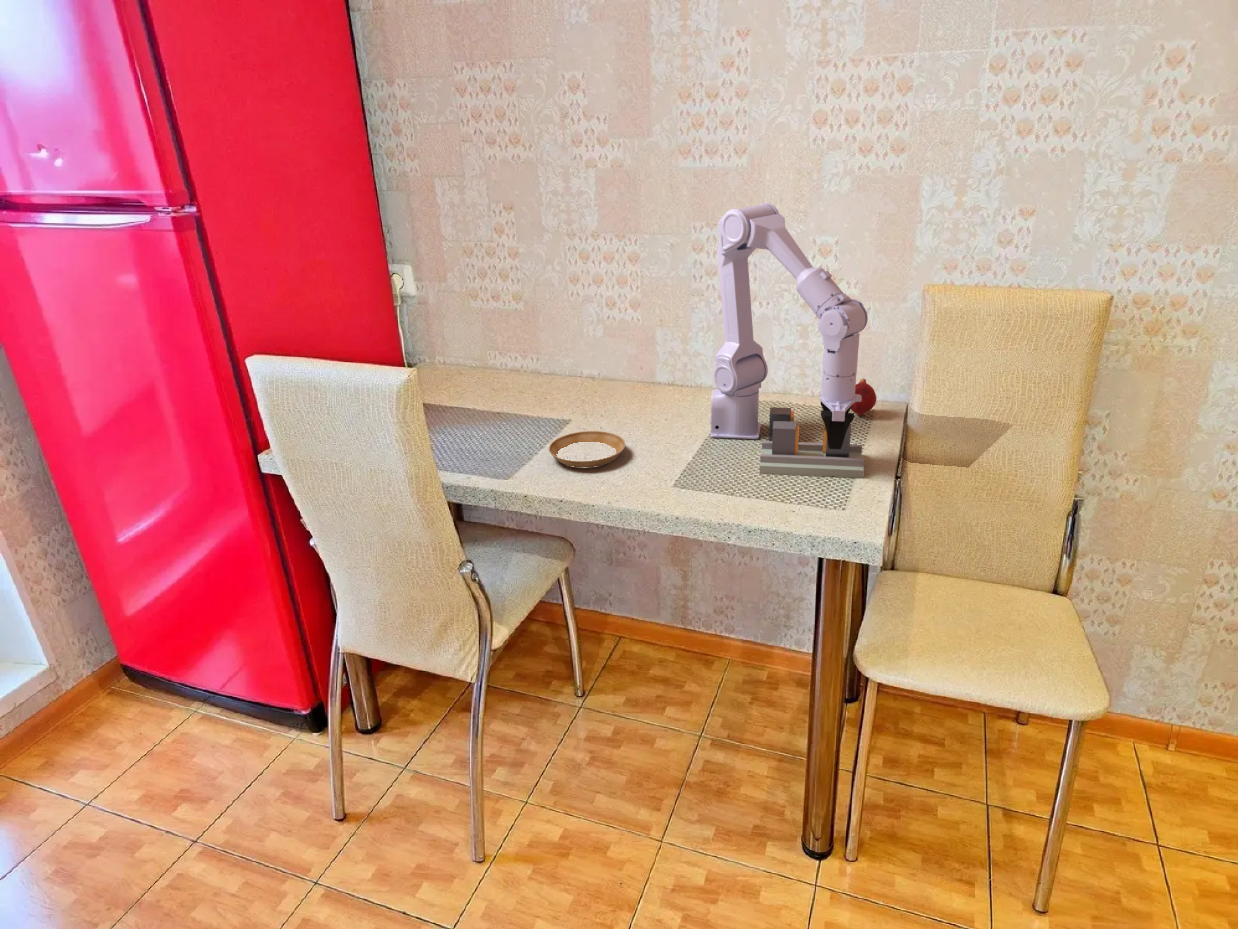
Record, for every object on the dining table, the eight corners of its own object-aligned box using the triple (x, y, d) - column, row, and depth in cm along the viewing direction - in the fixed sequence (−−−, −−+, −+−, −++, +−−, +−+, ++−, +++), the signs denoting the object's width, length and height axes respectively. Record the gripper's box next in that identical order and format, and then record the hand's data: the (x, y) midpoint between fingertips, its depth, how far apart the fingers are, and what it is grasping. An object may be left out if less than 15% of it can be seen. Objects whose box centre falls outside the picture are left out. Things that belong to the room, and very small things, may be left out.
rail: (759, 473, 148) (760, 434, 145) (762, 450, 157) (763, 414, 154) (863, 478, 145) (866, 438, 142) (860, 454, 154) (863, 417, 150)
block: (768, 442, 161) (769, 413, 158) (769, 435, 164) (770, 407, 161) (792, 443, 160) (794, 414, 157) (793, 436, 163) (794, 407, 160)
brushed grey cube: (822, 458, 148) (824, 427, 146) (822, 450, 151) (824, 420, 149) (848, 459, 147) (851, 428, 145) (847, 451, 150) (850, 421, 148)
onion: (875, 421, 168) (879, 384, 164) (846, 420, 169) (849, 383, 166) (873, 410, 173) (876, 374, 170) (845, 410, 174) (847, 374, 171)
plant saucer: (533, 461, 158) (532, 449, 157) (585, 436, 168) (585, 424, 167) (589, 481, 149) (588, 468, 148) (641, 453, 159) (641, 441, 158)
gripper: (865, 386, 135) (859, 461, 141) (861, 359, 148) (855, 429, 154) (821, 385, 137) (817, 459, 143) (820, 358, 150) (816, 427, 155)
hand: (834, 443), depth 148 cm, fingers closed on brushed grey cube, 3 cm apart
